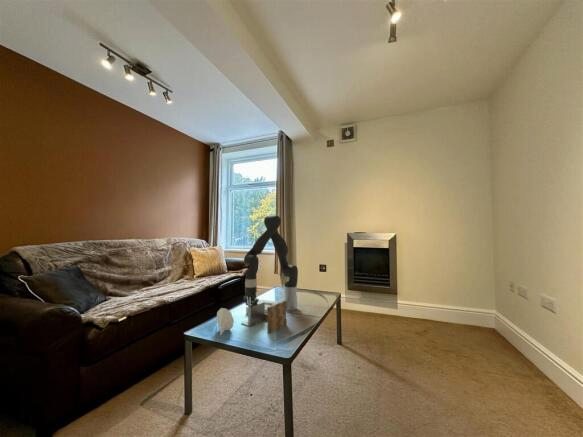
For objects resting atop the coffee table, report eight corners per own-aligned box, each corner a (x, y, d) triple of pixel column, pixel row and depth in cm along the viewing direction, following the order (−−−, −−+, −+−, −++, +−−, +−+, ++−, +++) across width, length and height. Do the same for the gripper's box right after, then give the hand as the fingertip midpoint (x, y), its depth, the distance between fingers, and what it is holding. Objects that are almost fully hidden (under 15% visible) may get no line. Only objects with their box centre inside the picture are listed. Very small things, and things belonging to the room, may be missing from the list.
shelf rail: (251, 315, 167) (251, 309, 167) (286, 325, 149) (286, 318, 150) (249, 315, 166) (249, 309, 166) (285, 326, 148) (285, 319, 148)
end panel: (284, 324, 150) (284, 300, 151) (286, 325, 150) (286, 300, 150) (267, 333, 137) (267, 307, 138) (269, 334, 137) (269, 307, 137)
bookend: (255, 317, 161) (255, 299, 162) (264, 320, 157) (264, 301, 157) (241, 324, 151) (241, 304, 151) (250, 327, 146) (250, 307, 147)
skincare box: (264, 309, 163) (245, 307, 169) (265, 317, 162) (245, 315, 169) (279, 301, 182) (261, 299, 188) (279, 308, 181) (261, 306, 188)
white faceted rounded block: (229, 338, 132) (230, 310, 132) (210, 337, 132) (211, 310, 133) (235, 330, 142) (235, 304, 143) (217, 329, 142) (218, 304, 143)
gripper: (262, 285, 155) (262, 313, 155) (248, 283, 163) (247, 309, 162) (254, 288, 149) (253, 316, 148) (239, 285, 157) (239, 312, 156)
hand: (250, 312), depth 155 cm, fingers closed
